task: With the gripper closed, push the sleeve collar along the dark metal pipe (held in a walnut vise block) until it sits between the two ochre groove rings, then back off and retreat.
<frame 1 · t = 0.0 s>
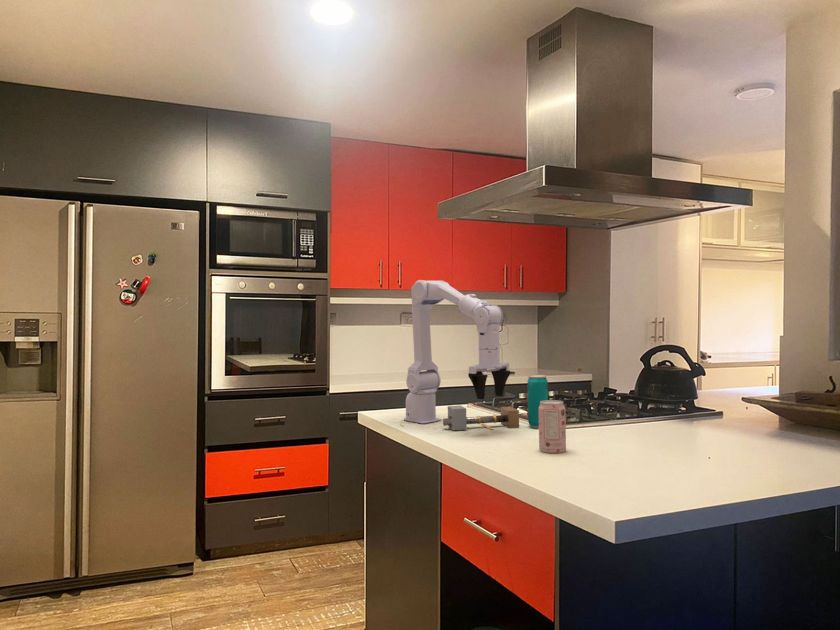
hand: (490, 397, 179), 10 cm above the countertop, fingers open, 7 cm apart
beverage can: (538, 427, 186), on the countertop
beverage can 2: (552, 451, 157), on the countertop
pipe rig: (473, 427, 187), on the countertop
sleeve: (457, 417, 186), point 3 cm above the countertop, slide at 0.0 cm
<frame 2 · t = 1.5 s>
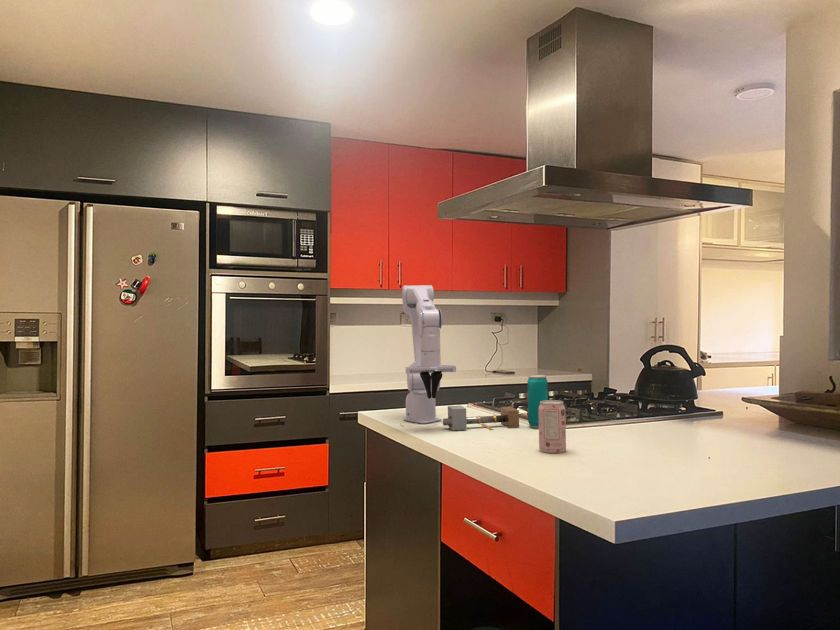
hand: (431, 397, 185), 9 cm above the countertop, fingers closed
nothing on the countertop moved.
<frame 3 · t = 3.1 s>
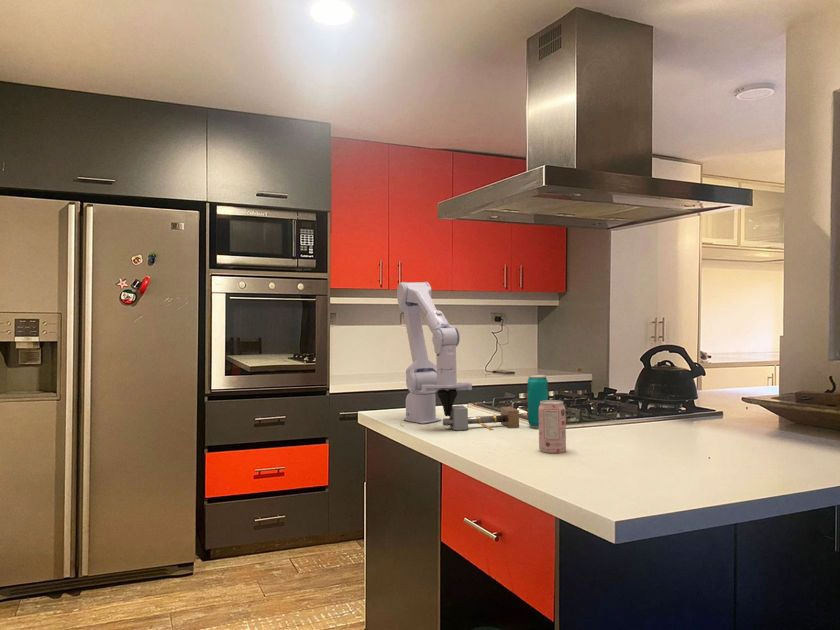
hand: (447, 415, 186), 4 cm above the countertop, fingers closed
sleeve: (458, 417, 186), point 3 cm above the countertop, slide at 0.4 cm, touching gripper
everything else where it was.
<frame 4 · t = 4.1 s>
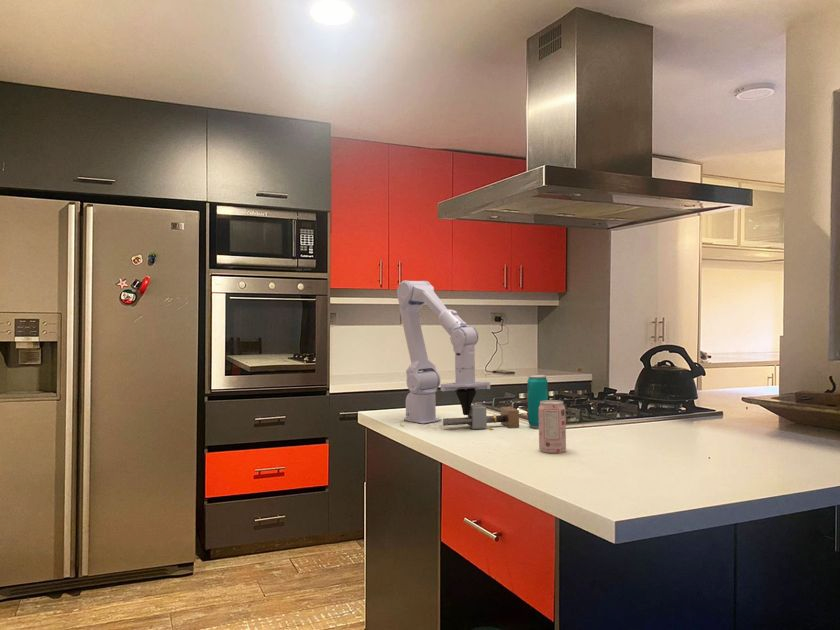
hand: (466, 414, 187), 4 cm above the countertop, fingers closed
sleeve: (476, 416, 187), point 3 cm above the countertop, slide at 6.0 cm, touching gripper
everything else where it was.
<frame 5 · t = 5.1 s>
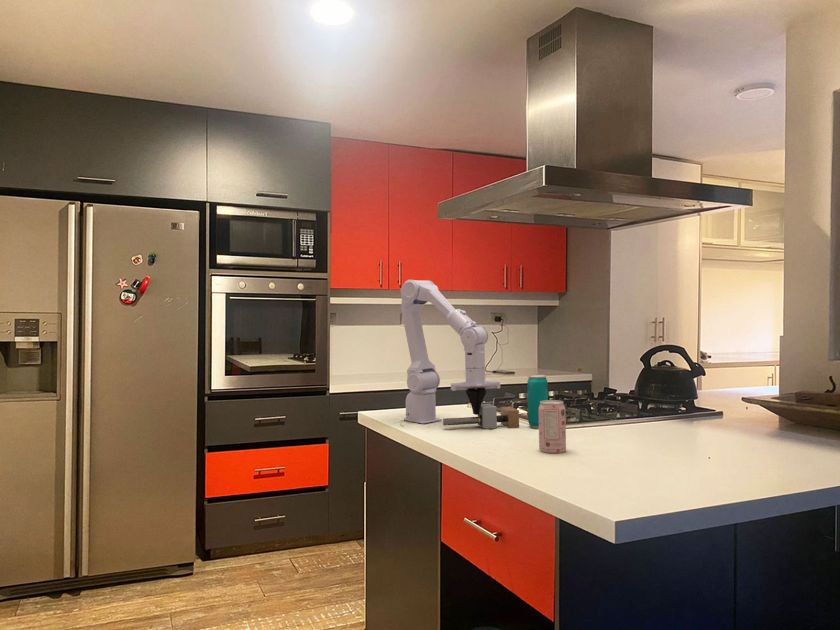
hand: (476, 414, 187), 4 cm above the countertop, fingers closed
sleeve: (486, 415, 188), point 3 cm above the countertop, slide at 9.1 cm, touching gripper
everything else where it was.
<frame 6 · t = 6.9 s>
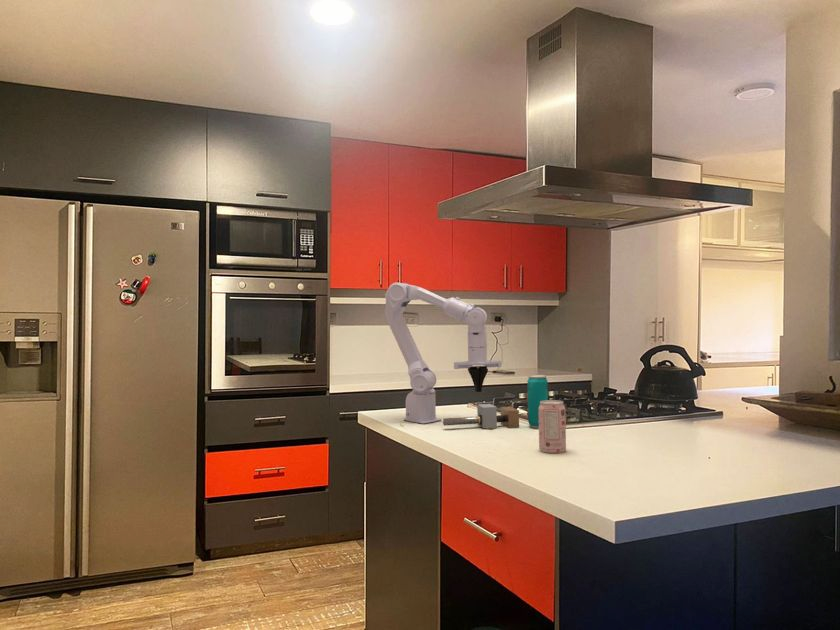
hand: (478, 391, 196), 9 cm above the countertop, fingers closed
sleeve: (486, 415, 188), point 3 cm above the countertop, slide at 9.1 cm
everything else where it was.
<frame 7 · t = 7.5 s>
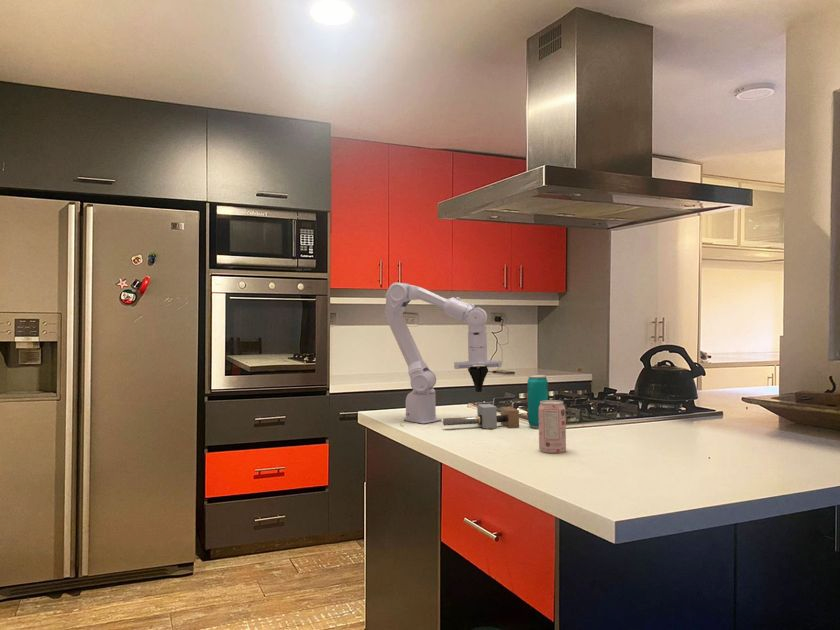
hand: (478, 391, 196), 9 cm above the countertop, fingers closed
nothing on the countertop moved.
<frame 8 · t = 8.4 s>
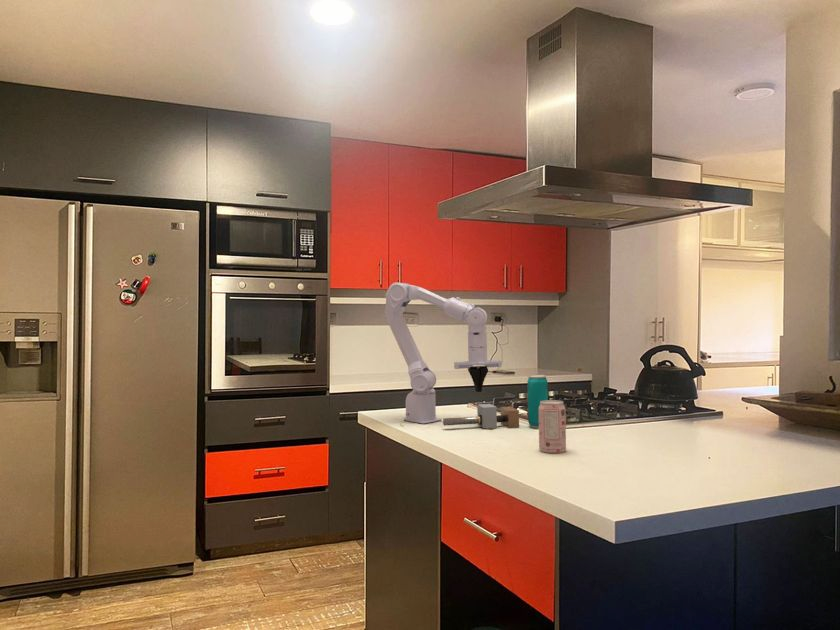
hand: (478, 391, 196), 9 cm above the countertop, fingers closed
nothing on the countertop moved.
at the end: sleeve slide at 9.1 cm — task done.
